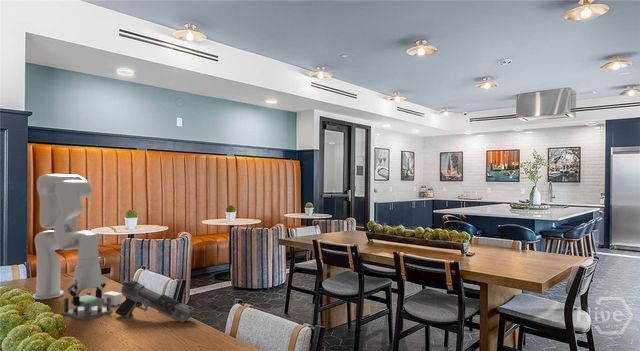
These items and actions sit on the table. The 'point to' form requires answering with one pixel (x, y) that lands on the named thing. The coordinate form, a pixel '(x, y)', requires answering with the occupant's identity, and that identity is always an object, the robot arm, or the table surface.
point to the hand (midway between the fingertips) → (87, 302)
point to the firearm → (151, 302)
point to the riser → (113, 297)
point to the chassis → (87, 310)
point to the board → (90, 300)
